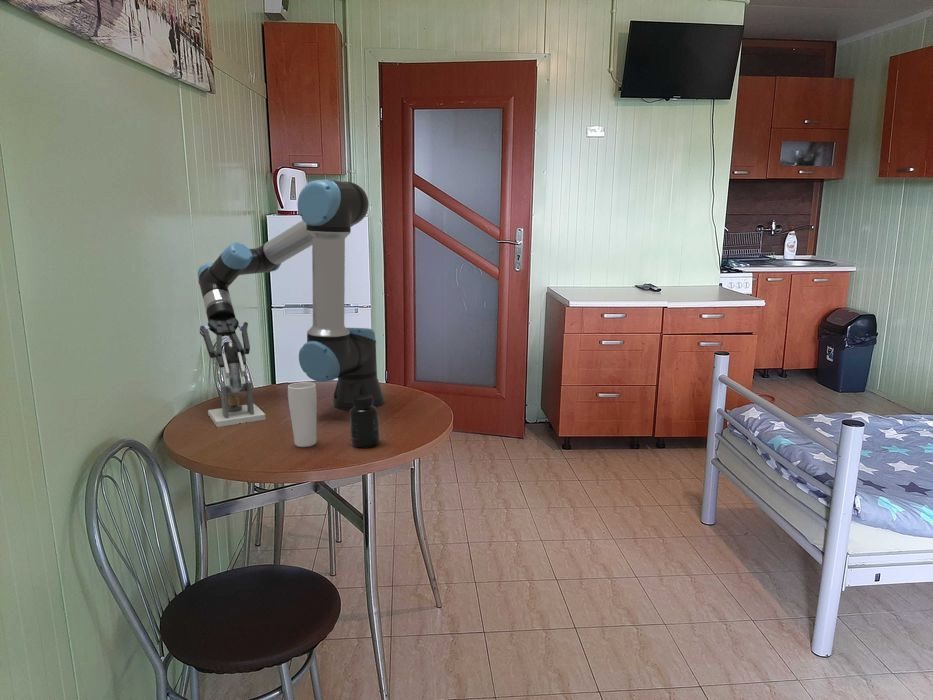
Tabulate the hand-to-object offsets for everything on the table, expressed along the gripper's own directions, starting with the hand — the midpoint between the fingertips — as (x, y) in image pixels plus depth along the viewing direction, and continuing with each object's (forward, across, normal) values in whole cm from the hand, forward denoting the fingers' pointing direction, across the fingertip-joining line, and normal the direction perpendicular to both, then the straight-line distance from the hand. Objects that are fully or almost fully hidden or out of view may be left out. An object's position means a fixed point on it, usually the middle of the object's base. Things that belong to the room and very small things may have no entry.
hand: (235, 374), depth 187 cm
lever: (+2, 0, -7) cm, 7 cm away
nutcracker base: (+7, 0, -12) cm, 14 cm away
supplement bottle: (+37, -22, +18) cm, 47 cm away
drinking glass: (+31, -10, +12) cm, 35 cm away
